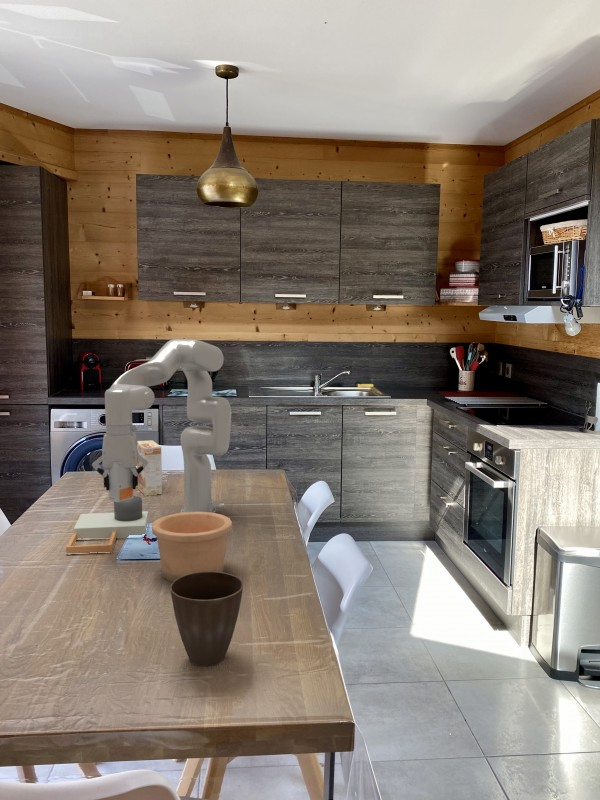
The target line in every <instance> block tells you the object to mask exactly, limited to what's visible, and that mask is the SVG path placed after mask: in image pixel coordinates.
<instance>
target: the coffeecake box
mask: <svg viewBox="0 0 600 800" xmlns="http://www.w3.org/2000/svg"><path fill="white" fill-rule="evenodd" d="M137 448H138V454H139V455H140V456H142V457H143V458H144V459H146V460H147V461H148V464H147V466H146V467H145V468H144V469H143V471H142V472H141V473H140V474H139V475H138V486H137V487H138V488H137V489H138V490H139V491H140V492H141V494H143V495H144V496H145V497H147V496H146V495H154V496H158V495H157V494H162V495H163V472H162V471H163V469H162V468H163V467H162V466H163V465H162V462H163V461H162V446H161V445H160V444H158V443H157V442H155V441H154V440H153V439H152V440H137ZM141 465H142V462H140V461H139V460H138V463H137V466H136V468H137V469H138V468H139V467H140V466H141Z"/></svg>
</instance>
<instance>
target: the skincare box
mask: <svg viewBox="0 0 600 800" xmlns="http://www.w3.org/2000/svg"><path fill="white" fill-rule="evenodd" d="M108 475H109V490H108V496H109V498H108V499H109V501H111V502H114V501H115V502H121V501H125V500H128V499H133V496H134V489H133V472H132V470H131V469H130V468H124V467H123V462H114V463H113V468H112V469H110V470H109V472H108Z"/></svg>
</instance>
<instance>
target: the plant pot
mask: <svg viewBox="0 0 600 800" xmlns="http://www.w3.org/2000/svg"><path fill="white" fill-rule="evenodd" d="M169 587H170V588H169V589H170V595H171V596H170V597H171V600H172V601H171V602H172V606H173V607H172V608H173V613H174V617H175V622H176V624H177V625H176V626H177V629H178V631H179V635H180V639H181V642H182V645H183V647H184V649H185V652H186V655H187V657H188V659H189V661H190V662H191V663H192V664H194V665H195V666H200V667H210V666H211V667H212V666H215V665H218V664H220V663H222V662H223V661H224V659H225V657H226V655H227V652H228V649H229V647H230V645H231V641H232V638H233V635H234V632H235V630H236V629H235V628H236V625H237V621H238V616H239V613H240V609H241V608H240V607H241V603H242V596H243V590H244V582H243V581H242V579H241V578H240V577H238V576H236V575H234V574H232V573H227V572H224V571H223V572H197V573H191V574H188V575H184V576H182V577H180V578H178V579H176V580H175V581H174V582H171V584H170V585H169Z"/></svg>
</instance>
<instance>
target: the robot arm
mask: <svg viewBox="0 0 600 800" xmlns="http://www.w3.org/2000/svg"><path fill="white" fill-rule="evenodd" d="M223 364H224V354H223V352H222V350H221V349H220V348H219V347H218V346H215V345H213V344H210V343H208V342H205V341H202V340H198V339H186V338H185V339H184V338H183V339H182V338H174V339H170V340H168V341H166V343H165V344H164V345H163V346H162V347H161V348H159V350H158V351H157V352H156V353H155V354H154V355H153V356H152V357H151V359H150V360H149V361H147V362H144V363H142V364H140V365H138V366H136V367H134V368H132V369H129V370H126V372H124V373H123V374H121V375H120V376H119V377H118V378H117V379H116V380H115V381H114V382H113V383H111V384H112V385H111V386H110V387H109V388H108V389H106V391H105V392H104V407H105V408H104V411H105V434H104V435H103V438H102V447H101V448H102V451H101V453H102V455H100V457H98V458H97V459H96V460H94V461H93V462H92V464H91V466H92V467H93V468H94V469H95V470H96V471H97V473H98V474H100V476H102V478H103V488H105V491H106V492H109V470H110V469H112V468H113V463H114V462H123V467H124V468H130V469H131V470H132V472H133V490H136V487H138V475H139V474H140V473H141V472H142V471H143V469H144V468H145V467H146V466H147V464H148V461H147V460H146V459H144V458H143V457H142V456H140V455H139V454H138V448H137V441H138V440H137V436H136V433H134V432H135V431H138V425H134V424H133V413H132V412H133V411H146V410H148V409H150V408H151V406H153V404H154V403H155V393H154V392H153V390H152V389H151V388H150V387H154V386H157V385H158V386H159V385H161V384H165V383H166V382H168V381H169V380H170V379H171V377H172V376H173V375H174V374H175V373H176V372H177V370H179V368H180V369H181V370H182V372H183V373H184V375H185V377H186V380H187V401H186V416H187V419H188V420H189V421H191V422H193V423H194V422H195V423H199V424H201V423H202V424H212V427H209V426H200V425H199V426H197V425H192V426H187V427H186V428H184V429H183V430H182V431H181V434H180V445H181V450H182V457H183V458H182V459H183V482H184V484H183V486H184V487H183V489H184V497H183V498H184V508H182V509H181V510H180V512H179V513H184V512H211V513H216V514H217V510H218V509H219V510H220V509H221V510H223V509H225V503H224V502H222V503H221V501H219V502H215V501H213V498H212V464H211V461H210V458H209V457H208V455H210V456H223V455H225V454H226V453H227V452H228V451H229V450H228V449H229V447H230V441H231V427H232V426H231V425H232V407H231V404H230V402H229V400H228V399H227V398H225V397H222V396H213V381H212V378H211V375H210V374H209V372H217V371H219V370H220V369H221V368H222V366H223ZM138 460H139V461H140V462H142V465H141V466H140V467H139V468H138V469H137V463H138ZM101 462H102V467H101V465H100V463H101ZM216 509H217V510H216Z"/></svg>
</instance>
